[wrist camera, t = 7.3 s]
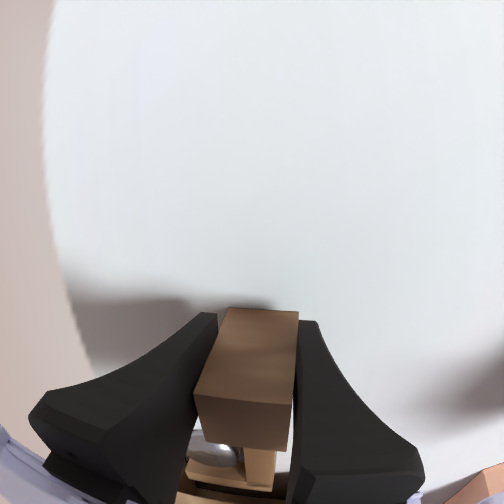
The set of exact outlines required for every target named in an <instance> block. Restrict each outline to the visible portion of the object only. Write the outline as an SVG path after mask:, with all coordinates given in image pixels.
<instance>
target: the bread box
mask: <svg viewBox="0 0 504 504" xmlns="http://www.w3.org/2000/svg"><path fill="white" fill-rule="evenodd" d="M186 467H187V463H186V461H185V460H184V464H183V468H182V473H181V477H180V481H179V486H178V490H177V495H176V500H175V504H285V501H286V500H276V499H265V498H256V497H248V496H240V495H234V494H227V493H222V492H216V491H211V490H206V489H201V488H197V486H196V483H195V481H194V480H192V479H189V478H188V476H187V474H186V472H185V469H186Z"/></svg>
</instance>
